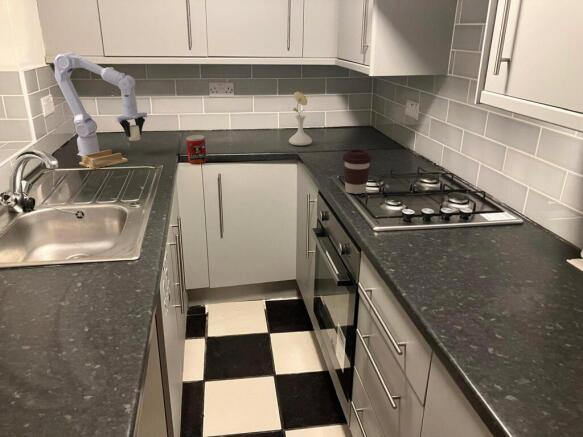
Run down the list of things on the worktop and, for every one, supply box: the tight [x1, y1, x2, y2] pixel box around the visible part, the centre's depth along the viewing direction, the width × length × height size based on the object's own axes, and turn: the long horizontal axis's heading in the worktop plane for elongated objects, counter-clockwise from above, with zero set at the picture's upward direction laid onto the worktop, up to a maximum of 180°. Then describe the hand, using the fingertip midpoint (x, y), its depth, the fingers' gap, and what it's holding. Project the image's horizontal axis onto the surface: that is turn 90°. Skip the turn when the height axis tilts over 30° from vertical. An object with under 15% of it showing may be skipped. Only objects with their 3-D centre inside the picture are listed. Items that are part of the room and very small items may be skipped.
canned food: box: [186, 134, 207, 166], centre depth 201 cm, size 8×8×11 cm
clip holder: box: [79, 149, 129, 171], centre depth 202 cm, size 12×16×4 cm
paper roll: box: [128, 124, 141, 142], centre depth 209 cm, size 5×5×6 cm
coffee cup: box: [342, 148, 373, 194], centre depth 166 cm, size 10×10×15 cm
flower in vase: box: [288, 91, 313, 146], centre depth 225 cm, size 13×11×25 cm
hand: (134, 135), depth 210 cm, fingers closed on paper roll, 5 cm apart
